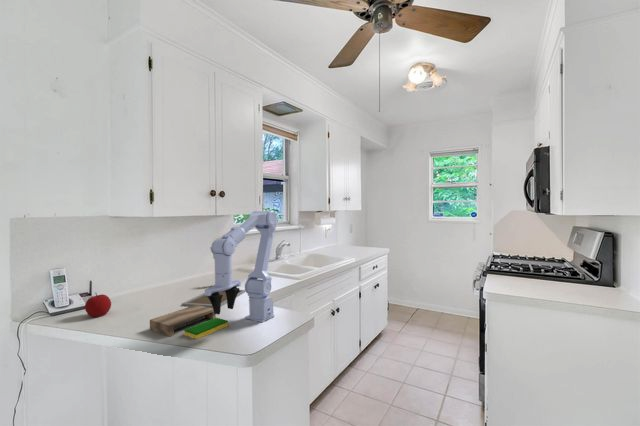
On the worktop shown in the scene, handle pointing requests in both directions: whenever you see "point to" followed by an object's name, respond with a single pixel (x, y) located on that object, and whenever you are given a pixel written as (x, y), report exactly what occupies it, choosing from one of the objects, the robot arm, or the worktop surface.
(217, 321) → the dish sponge
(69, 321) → the worktop surface
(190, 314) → the low shelf
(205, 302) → the grey flat tray
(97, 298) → the apple
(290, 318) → the worktop surface
